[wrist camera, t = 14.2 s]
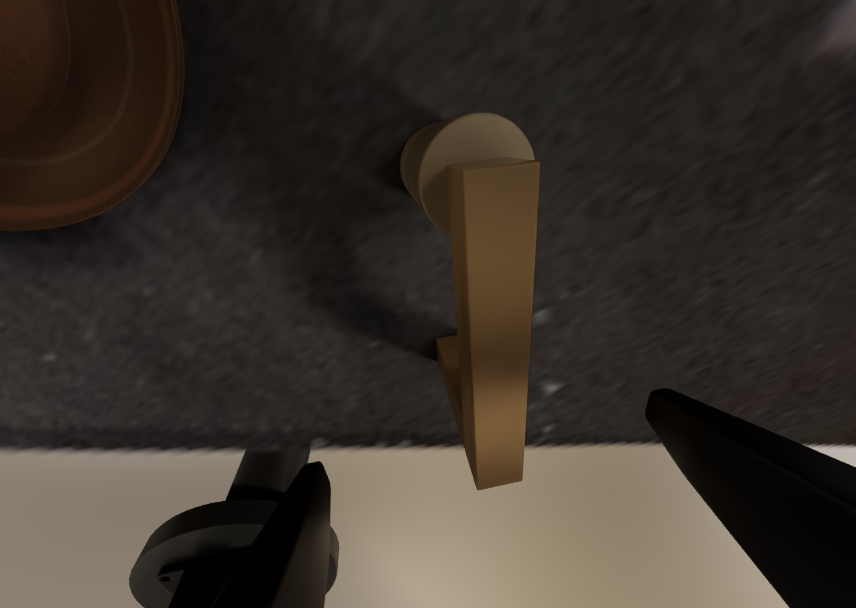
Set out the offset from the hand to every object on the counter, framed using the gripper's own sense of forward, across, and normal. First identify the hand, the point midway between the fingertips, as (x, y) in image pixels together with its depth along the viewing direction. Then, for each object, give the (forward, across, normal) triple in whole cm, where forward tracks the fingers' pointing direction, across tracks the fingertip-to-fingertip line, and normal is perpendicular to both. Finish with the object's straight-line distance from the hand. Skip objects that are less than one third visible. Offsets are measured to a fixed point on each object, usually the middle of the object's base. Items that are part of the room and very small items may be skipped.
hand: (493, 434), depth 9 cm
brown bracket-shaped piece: (+8, 0, -2) cm, 8 cm away
